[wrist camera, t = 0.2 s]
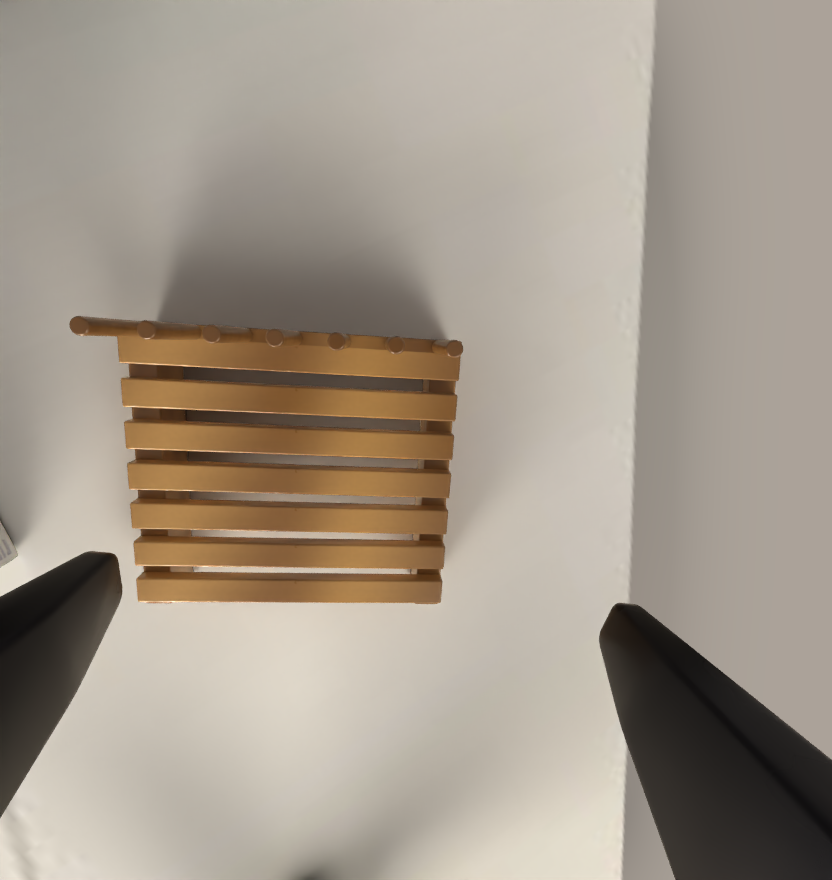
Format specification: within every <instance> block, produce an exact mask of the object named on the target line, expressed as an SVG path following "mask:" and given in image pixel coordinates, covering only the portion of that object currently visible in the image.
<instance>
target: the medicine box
mask: <svg viewBox="0 0 832 880" xmlns="http://www.w3.org/2000/svg"><path fill="white" fill-rule="evenodd" d="M17 556H18V553H17V551H16V549H15V547H14V545H13V544H12V542H11V540H10V538H9V536H8V534H7V533H6V531H5V529H4V527H3V525H2V523H1V522H0V568H1V567H2V566H4V565H5V564H7V563H9V562H10V561H12V560H13V559H14V558H16V557H17Z"/></svg>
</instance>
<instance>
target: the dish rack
mask: <svg viewBox="0 0 832 880" xmlns="http://www.w3.org/2000/svg"><path fill="white" fill-rule="evenodd" d="M69 325H70V329H71V330H72V332H74V333H75V334H76V335H79V336H117V339H118V352H119V362H120V363H129V375H130V377H124V378H121V388H122V401H123V406H124V407H132V416H133V419H131V420H128V421H125V422H124V426H125V439H126V448H127V449H135V457H136V459H135V460H133V461H131V462H129V463H128V464H127V467H128V480H129V489H135V490H138V498H137V499H136V500H134V501H133V502H131V504H130V507H131V519H132V528H140V529H141V536H140V537H139V538H138V539H136V540H135V541H134V554H135V565H136V566H144V572H143V573H142V574H141V575H140V576H139V577H138V578H137V579H136V581H137V594H138V602H146V603H172V602H322V603H415V604H437V603H440V602H441V593H442V579H441V575H440V572H441V569H443V567H444V555H445V546H444V543H443V534H446V532H447V519H448V510H447V508H446V498H449V494H450V482H451V473H450V471H449V460H452V456H453V443H454V435H453V434H452V421H455V419H456V407H457V395H456V394H455V382H456V381H458V380H459V370H460V358H461V354H462V352H463V345H462V342H461V341H457V340H430V339H414V338H400V337H398V336H394V337H383V336H367V335H351V334H342V333H319V332H304V331H291V330H283V329H256V328H242V327H232V326H221V325H193V324H182V323H170V322H159V321H147V320H144V321H132V320H120V319H108V318H95V317H83V316H76V317H74V318H72V319H71V321H70V324H69ZM183 366H187V367H206V368H224V369H243V370H261V371H280V372H298V373H317V374H335V375H354V376H372V377H391V378H409V379H423V392H419V391H400V390H380V389H361V388H341V387H322V386H302V385H282V384H263V383H243V382H224V381H204V380H185V379H184V371H183ZM185 409H186V410H208V411H231V412H253V413H275V414H298V415H320V416H342V417H365V418H387V419H409V420H421V423H420V431H410V430H386V429H362V428H339V427H315V426H291V425H268V424H244V423H220V422H197V421H186V412H185ZM187 451H203V452H231V453H259V454H287V455H315V456H343V457H370V458H398V459H418V469H413V468H384V467H354V466H324V465H295V464H265V463H235V462H205V461H188V454H187ZM189 491H208V492H245V493H282V494H319V495H355V496H392V497H416V501H415V505H393V504H354V503H315V502H275V501H236V500H197V499H190V495H189ZM191 529H193V530H246V531H299V532H352V533H405V534H413V540H362V539H304V538H246V537H191ZM193 566H211V567H303V568H394V569H411V574H338V573H235V572H193Z"/></svg>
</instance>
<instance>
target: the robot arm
mask: <svg viewBox="0 0 832 880" xmlns="http://www.w3.org/2000/svg"><path fill="white" fill-rule="evenodd" d="M121 596H122V583H121V577H120V570H119V563H118V559H117V557H116V555H115V554H112V553H106V552H95V551H89V552H85V553H83V554H81V555H79V556H77V557H75V558H73V559H71V560H69V561H68V562H66V563H64V564H62V565H60V566H58V567H56V568H54V569H52V570H50V571H49V572H47V573H45V574H43V575H41V576H39V577H37V578H35V579H33V580H31V581H29V582H28V583H26V584H24V585H22V586H20V587H18V588H16V589H14V590H12V591H10V592H8V593H7V594H5V595H3V596H1V597H0V818H1V816H2V814H3V813H4V811H5V809H6V808H7V806H8V805H9V803H10V801H11V800H12V798H13V796H14V795H15V793H16V791H17V790H18V788H19V786H20V785H21V783H22V782H23V780H24V778H25V777H26V775H27V773H28V772H29V770H30V768H31V767H32V765H33V764H34V762H35V760H36V759H37V757H38V755H39V754H40V752H41V750H42V749H43V747H44V745H45V744H46V742H47V741H48V739H49V737H50V736H51V734H52V732H53V731H54V729H55V727H56V726H57V724H58V722H59V721H60V719H61V718H62V716H63V714H64V713H65V711H66V709H67V708H68V706H69V704H70V702H71V701H72V699H73V697H74V695H75V694H76V692H77V690H78V688H79V686H80V684H81V682H82V680H83V678H84V676H85V674H86V672H87V670H88V668H89V666H90V664H91V661H92V659H93V657H94V655H95V653H96V651H97V649H98V647H99V645H100V643H101V641H102V639H103V637H104V634H105V632H106V630H107V628H108V626H109V624H110V622H111V620H112V618H113V616H114V614H115V612H116V609H117V607H118V605H119V603H120V600H121ZM599 642H600V648H601V652H602V656H603V659H604V663H605V667H606V671H607V675H608V679H609V683H610V687H611V691H612V694H613V698H614V702H615V706H616V710H617V714H618V717H619V721H620V724H621V728H622V731H623V734H624V737H625V740H626V743H627V745H628V748H629V751H630V754H631V757H632V759H633V762H634V765H635V768H636V771H637V773H638V776H639V779H640V782H641V785H642V787H643V790H644V793H645V796H646V798H647V801H648V804H649V807H650V809H651V813H652V815H653V818H654V821H655V824H656V826H657V829H658V832H659V835H660V838H661V840H662V843H663V846H664V849H665V852H666V854H667V857H668V860H669V863H670V866H671V868H672V871H673V874H674V877H675V879H676V880H832V760H831V759H830V758H828V757H827V756H826V755H825V754H824V753H822V752H821V751H820V750H819V749H817V748H816V747H815V746H814V745H812V744H811V743H810V742H809V741H807V740H806V739H805V738H804V737H802V736H801V735H800V734H799V733H797V732H796V731H795V730H794V729H793V728H791V727H790V726H788V724H786V723H785V722H784V721H782V720H781V719H780V718H779V717H778V716H776V715H775V714H774V713H772V712H771V711H770V710H769V709H767V708H766V707H765V706H764V705H763V704H761V703H760V702H759V701H758V700H756V699H755V698H754V697H753V696H751V695H750V694H749V693H748V692H746V691H745V690H744V689H743V688H741V687H740V686H739V685H738V684H736V683H735V682H734V681H733V680H731V679H730V678H729V677H728V676H726V675H725V674H724V673H723V672H721V671H720V670H719V669H718V668H716V667H715V666H714V665H713V664H711V663H710V662H709V661H708V660H707V659H705V658H704V657H703V656H701V655H700V654H699V653H697V652H696V651H695V650H694V649H693V648H691V647H690V646H689V645H688V644H687V643H685V642H684V641H683V640H682V639H680V638H679V637H678V636H677V635H675V634H674V633H673V632H672V631H670V630H669V629H668V628H667V627H665V626H664V625H663V624H662V623H660V622H659V621H658V620H657V619H655V618H654V617H653V616H652V615H650V614H649V613H648V612H646V611H645V610H644V609H643V608H641V607H640V606H638V605H635V604H627V603H617V604H615V605H614V606H613V608H612V609H611V611H610V613H609V615H608V617H607V619H606V621H605V623H604V625H603V627H602V629H601V631H600V636H599Z"/></svg>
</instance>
